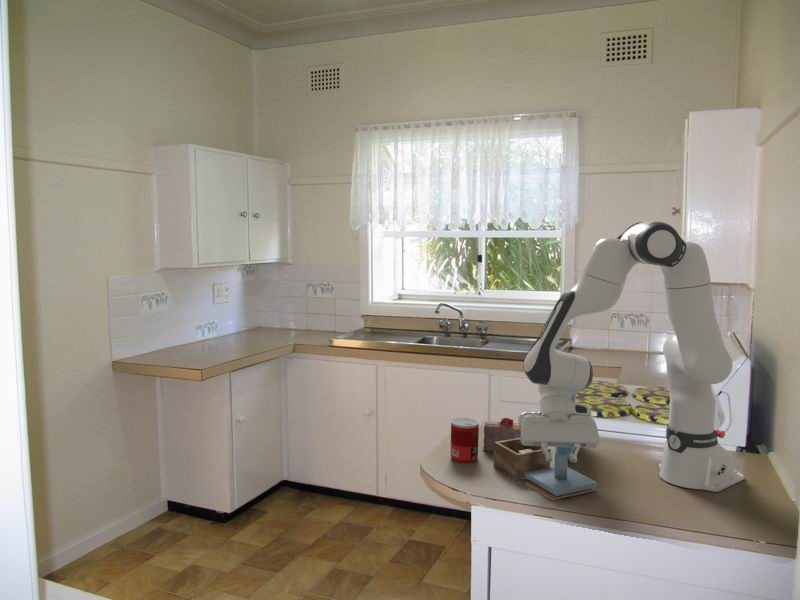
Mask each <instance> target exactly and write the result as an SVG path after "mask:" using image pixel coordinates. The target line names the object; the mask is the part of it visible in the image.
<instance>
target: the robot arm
mask: <svg viewBox="0 0 800 600" xmlns="http://www.w3.org/2000/svg"><path fill="white" fill-rule="evenodd" d="M637 264H644V265H653V266H659V267H660V269H661V271H662V275H663V282H664V283H663V284H664V291H665V292H664V293H665V300H666V301H665V302H666V310H667V316H668V319H669V321H670V323H671V325H672V327H673V331H674V333H673V334H670V335H669V336H668V337H667V338H666V340H665V341H664V343H663V346H662V354H663V356H664V359H665V364H666V373H667V380H668V389H669V410H668V411H669V414H668V424H667V425H666V429H665V438H666V440H665V441H664V445H663V452H662V457H661V461H660V462H659V463H658V469H659V473H658V475H659V477H660V478H661V479H662V480H663V481H665V482H666V483H669V484H670V485H671V484H672V485H674V486H678V487H681V488H686V489H693V490H703V491H704V490H705V491H708V492H712V493H713V492H716V493H717V492H718V493H719V492H720V491H723V490H725V489H726V488H729V487H731V486H733V485H735V484H737V483H740V482H742V481H743V480H745V476H744V474H743V473H741V472H740V471H738V470H736V469H735V458H734V456H733V455H732V453H730V452H729V451H728V450H727V449H726V448H724V447H723V446H722V445H721V444H720V443H719V440H718V438H720V439H724V438H725V436H726V432H725V431H724V430H721V429H719V428H717V429H715V420H716V419H715V418H716V417H715V415H716V399H715V396H714V393H713V390H712V385H716V384H720V383H723V382H724V381H725V380H727V378H728V377H730V375H731V373H732V371H733V360H732V357H731V355H730V353H729V351H728V350H727V347H726V345H725V342H724V339H723V336H722V332H721V329H720V326H719V323H718V320H717V316H716V313H715V307H714V299H713V291H712V290H713V289H712V282H711V274H710V269H709V265H708V260H707V257H706V254H705V251H704V249H703V247H702V246H701V245H700V244H698V243H695V242H693V241H684V239H683V238H682V237H681V236H680V235H679V233H678V231H677V230H676V229H675V228H674V227H673V226H672V225H671V224H669V223H666V222H663V221H656V220H645V221H639V222H636V223H634V224H632V225H630V226H629V227H628V228H626V229H625V230H624V231H623V232H622V233H621V234H619V236H617V237H604V238H601V239H599V240H598V241H596V243H595V245H594V247H593V248H592V250H591V252H590V253H589V256H588V258H587V260H586V262H585V265H584V267H583V269H582V273H581V275H580V277H579V279H578V281H577V282H576V284H575V285H574V286H573V287H572V288H571V289H569V290H565V291H564V292H563V293H562V294H561V295H560V297H559V298H558V300H557V302H556V303H555V305H554V306H553V307H552V310H551V312H550V314H549V316H548V317H547V319H546V322H545V324H544V325H543V327H542V329H541V331H540V333H539V335H538V337H537V339H536V341H535V342H534V343H533V345H532V346H531V348H530V349H529V350H528V352H527V354H526V355H525V358H524V360H523V365H522V366H523V371H524V374H525V375H526V377H527V378H528V380H529V381H530V382H531V383H532V384H536V385H537V391H538V393H539V401H538V402H539V411H532V412H530V411H524V412H523V413H521V414H519V415H518V422H517V423H519V425H520V426H521V434H520V442H521V443H522V444H523V445H524V446H540V447H541V451H542V452H543V453H544V455H545V456H546V461H550V463H551V462H552V461H553V452H551V453H549V452H548V451H547V449H546V447H555V448H556V447H573V454H570V460H569V462H570V463H577V461H578V456H577V455H578V453H579V452H580V449H581V448H585V449H586V448H587V449H589V448H592V449H594V448H596V447H597V446H598V444H599V443H600V435H599V430H598V425H597V423H596V421H595V419H594V418H593V417H592V409H591V407H589V406H585V405H582V404H580V403H577V402H576V403H574V402H572V399H571V397H572V395H573V394H576V395H578V394H579V393H581V392H582V391H584V390H585V389H587V388H588V387H589V386H590V385H591V384H592V382H593V378H594V371H593V370H594V369H593V366H592V363H591V362H590V360H589V359H588V358H587V357H585V356H582V355H578V354H574V353H570V352H565V351H561V350H558V349H555V348H556V347H557V345H558V343H559V341H560V339H561V337H562V336H563V333H564V331H565V330H566V327H567V326H568V324H569V323H570V322H571V321H572V320H574V319H576V318H577V317H582V316H586V315H593V314H600V313H603V312H606V311H609V310H610V309H612V308H613V307H614V306H616V304H617V303H618V302H619V299H620V298H621V295H622V292H623V289H624V287H625V284H626V280H627V278H628V277H627V276H628V274H629V272H630V271H631V270H632V268H633V267H634V266H635V265H637Z"/></svg>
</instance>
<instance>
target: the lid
mask: <svg viewBox="0 0 800 600" xmlns="http://www.w3.org/2000/svg"><path fill="white" fill-rule="evenodd" d="M554 456H555V457H554V466H552V467H551V466H550V468H546V469H541V470H536V471H531V472H526V473H525V477H526V479H527V480H529V481H532V482H534V483H536V484H537V485H539V486H541V487H542V488H544V489H546V490H547V491H549V492H551V493H552V494H554V495H556V496H559V495H564V494H568V493H573V492H577V491H582V490H586V489H591V488H595V489H596V488H598V482H597V481H596V480H593V479H592V478H589V476H586V475H584V474H582V473H580V472H578V471H577V470H574V469H572V468H570V467H569V465H568V462H569V460H568V455H567V454H564V453H557V454H556V453H555V454H554Z"/></svg>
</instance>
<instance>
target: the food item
mask: <svg viewBox="0 0 800 600" xmlns="http://www.w3.org/2000/svg"><path fill="white" fill-rule="evenodd" d="M520 434H521V426H520V425H519V422H517V423H515V422H514V419H512V418H508V417H503V418H501V421H500V420H498V421H497V420H494V421H493V420H486V421H485V422H484V427H483V451H484V452H485V451H487V452H494V442H498V441H504V440H510V439H516V438H520Z"/></svg>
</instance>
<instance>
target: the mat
mask: <svg viewBox="0 0 800 600" xmlns="http://www.w3.org/2000/svg"><path fill="white" fill-rule="evenodd" d="M524 484H525V485H526V486H527V485H528V486H527V487H528V488H531V489H532V488H533V489H532V490H534V491H535V492H537V491H538V492H537V493H539V494H540V493H541V495H542V494H543V495H542V496H543V497H545V496H546V498H547V497H548V498H547V499H549V500H550V499H551V500H550V501H555V500H556V501H557V500H559V499H560V498H561V499H564V498H571V497H575V496H577V495H578V496H579V495H582V494H583V495H584V494H586V493H591V492H595V491H596V490H597V489H596V487H595V488H591V489H586V490H582V491H577V492H573V493H568V494H564V495H559V496H556V495H554V494H552V493H551V492H549V491H547V490H546V489H544V488H542V487H541V486H539V485H537V484H536V483H534V482H532V481H531V480H529V481H525V482H524Z"/></svg>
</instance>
